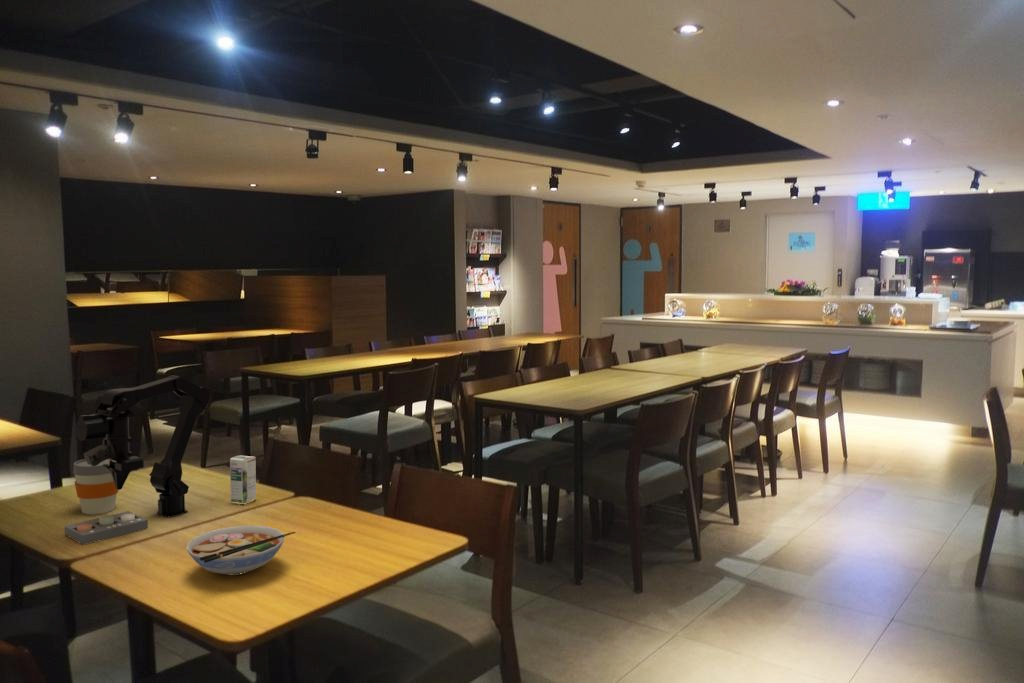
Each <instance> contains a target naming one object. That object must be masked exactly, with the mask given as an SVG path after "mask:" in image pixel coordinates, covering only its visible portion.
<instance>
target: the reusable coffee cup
mask: <svg viewBox="0 0 1024 683" xmlns="http://www.w3.org/2000/svg"><path fill="white" fill-rule="evenodd" d="M104 464H105V460H104V461H103V462H101V463H99V464H98V465H96V466H92V465H90V464H88V463H87V461H86V459H85V458H84V459H79V460H76V461H75V462H74V463H73V467H72V468H73V471H72V473H73V475H74V478H75V481H74V487H75V490H76V491H75V492H76V496H77V498H79V499H78V500H79V503H80V510H81V513H82V512H83V513H82V514H84V513H86V514H85V515H100V513H102V514H106V513H110V512H111V510H112V511H114V510H115V509H116V503H117V502H116V500H117V494H118V493H119V490H117V489H116V486H115V483H114V480H113V478H112V475H111V472H110V471H109V470H108V469H107V468H105V467H104V466H103V465H104ZM113 509H114V510H113ZM109 511H110V512H109ZM105 512H106V513H105Z"/></svg>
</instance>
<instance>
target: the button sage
mask: <svg viewBox="0 0 1024 683" xmlns="http://www.w3.org/2000/svg"><path fill="white" fill-rule="evenodd" d="M98 518H99V526H101V527H102V526H107V525H111V524H114V516H110V515H104V516H100V517H98Z"/></svg>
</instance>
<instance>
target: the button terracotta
mask: <svg viewBox="0 0 1024 683" xmlns="http://www.w3.org/2000/svg"><path fill="white" fill-rule="evenodd" d="M90 529H92V524H81V525H78V526H77V531H78V532H82V531H86V530H90Z"/></svg>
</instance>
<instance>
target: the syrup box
mask: <svg viewBox="0 0 1024 683" xmlns="http://www.w3.org/2000/svg"><path fill="white" fill-rule="evenodd" d="M256 465H257V464H256V456H248V455H241V454H240V455H235V456H233V457H231V458H230V459H229V473H230V474H229V475H230V478H229V479H230V503H231V502H239V503H246V502H249V501H250V500H252V499H254V498H256V499H257V481H256V480H257V478H256V477H257V475H256V474H257V472H256V471H257V468H256Z"/></svg>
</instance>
